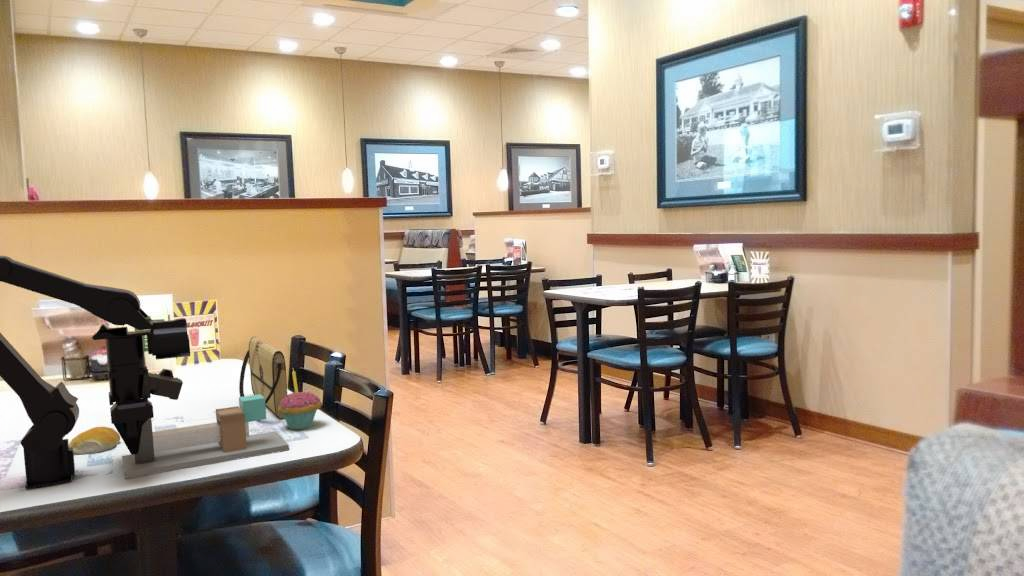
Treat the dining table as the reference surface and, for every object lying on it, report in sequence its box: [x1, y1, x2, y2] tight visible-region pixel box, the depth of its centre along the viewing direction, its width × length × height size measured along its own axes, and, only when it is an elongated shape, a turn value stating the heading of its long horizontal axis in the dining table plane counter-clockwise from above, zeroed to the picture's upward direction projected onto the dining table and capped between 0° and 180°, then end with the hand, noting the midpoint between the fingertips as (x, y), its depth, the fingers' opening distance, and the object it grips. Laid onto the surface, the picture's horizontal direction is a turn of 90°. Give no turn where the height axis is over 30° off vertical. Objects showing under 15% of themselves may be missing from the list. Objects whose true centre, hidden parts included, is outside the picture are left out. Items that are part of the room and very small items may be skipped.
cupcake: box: [278, 367, 322, 430], centre depth 154 cm, size 9×8×12 cm
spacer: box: [238, 394, 267, 423], centre depth 140 cm, size 4×4×4 cm
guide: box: [121, 405, 290, 479], centre depth 136 cm, size 27×11×8 cm, turn 119°
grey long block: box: [134, 418, 250, 463], centre depth 135 cm, size 19×4×7 cm, turn 119°
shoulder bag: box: [238, 336, 288, 420], centre depth 170 cm, size 30×7×15 cm, turn 30°
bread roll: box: [69, 426, 121, 455], centre depth 144 cm, size 8×9×4 cm
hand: (134, 450), depth 131 cm, fingers closed on grey long block, 4 cm apart
